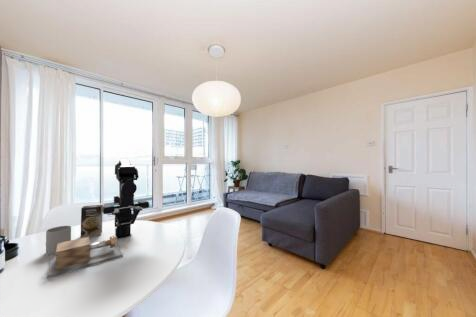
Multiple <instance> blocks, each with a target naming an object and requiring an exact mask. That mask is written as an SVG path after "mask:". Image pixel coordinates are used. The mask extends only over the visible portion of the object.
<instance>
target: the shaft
mask: <svg viewBox="0 0 476 317" xmlns="http://www.w3.org/2000/svg"><path fill="white" fill-rule="evenodd" d="M115 243H116V236H115V235H112V236H109V239H107V240H104V241H97V242H94V243H90V250H93V249H97V248H101V247H106V246H110V248H113V247H115Z"/></svg>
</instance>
